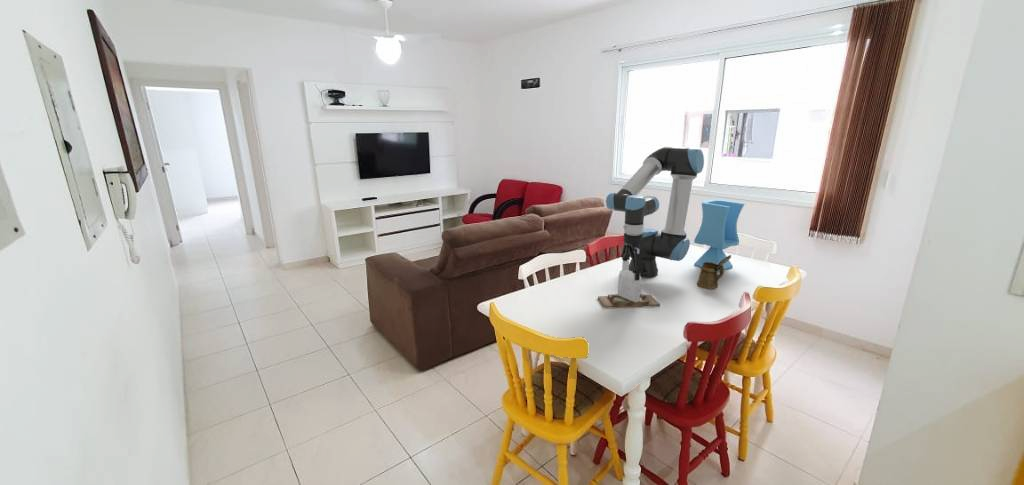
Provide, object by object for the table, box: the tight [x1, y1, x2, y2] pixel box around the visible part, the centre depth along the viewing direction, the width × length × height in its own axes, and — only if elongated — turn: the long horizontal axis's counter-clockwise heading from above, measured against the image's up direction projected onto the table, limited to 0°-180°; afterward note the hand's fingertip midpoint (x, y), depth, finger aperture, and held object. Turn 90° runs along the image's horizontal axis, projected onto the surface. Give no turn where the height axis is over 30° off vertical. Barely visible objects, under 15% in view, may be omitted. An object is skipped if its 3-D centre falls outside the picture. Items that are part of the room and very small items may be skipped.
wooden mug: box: [696, 254, 732, 291], centre depth 188 cm, size 9×14×18 cm, turn 35°
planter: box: [693, 199, 745, 273], centre depth 214 cm, size 16×16×35 cm
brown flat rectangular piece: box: [597, 293, 661, 308], centre depth 175 cm, size 24×10×3 cm, turn 93°
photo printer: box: [617, 269, 642, 302], centre depth 173 cm, size 10×4×12 cm, turn 36°
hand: (630, 280), depth 173 cm, fingers open, 13 cm apart
